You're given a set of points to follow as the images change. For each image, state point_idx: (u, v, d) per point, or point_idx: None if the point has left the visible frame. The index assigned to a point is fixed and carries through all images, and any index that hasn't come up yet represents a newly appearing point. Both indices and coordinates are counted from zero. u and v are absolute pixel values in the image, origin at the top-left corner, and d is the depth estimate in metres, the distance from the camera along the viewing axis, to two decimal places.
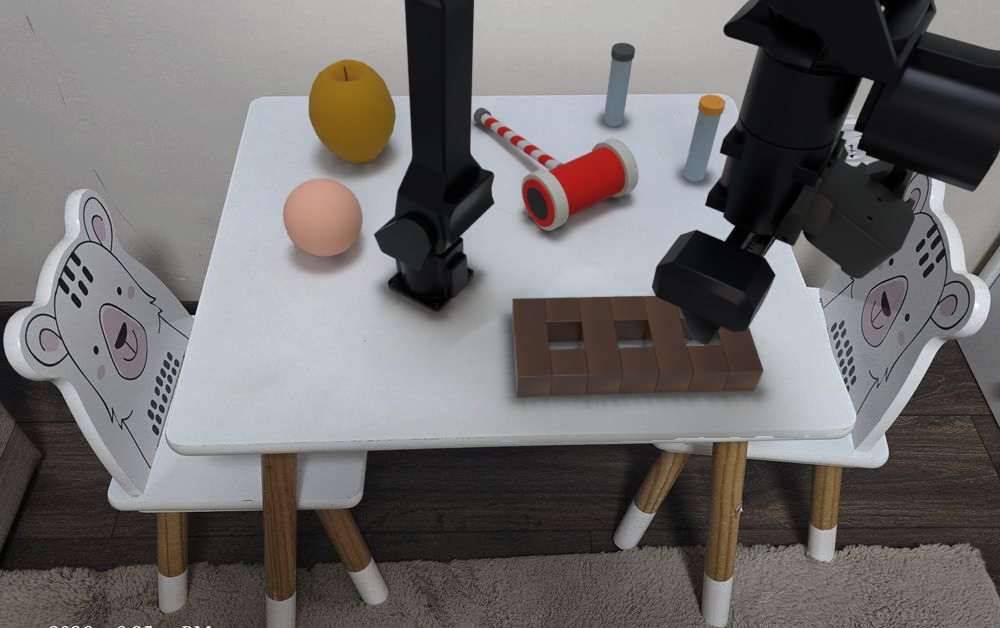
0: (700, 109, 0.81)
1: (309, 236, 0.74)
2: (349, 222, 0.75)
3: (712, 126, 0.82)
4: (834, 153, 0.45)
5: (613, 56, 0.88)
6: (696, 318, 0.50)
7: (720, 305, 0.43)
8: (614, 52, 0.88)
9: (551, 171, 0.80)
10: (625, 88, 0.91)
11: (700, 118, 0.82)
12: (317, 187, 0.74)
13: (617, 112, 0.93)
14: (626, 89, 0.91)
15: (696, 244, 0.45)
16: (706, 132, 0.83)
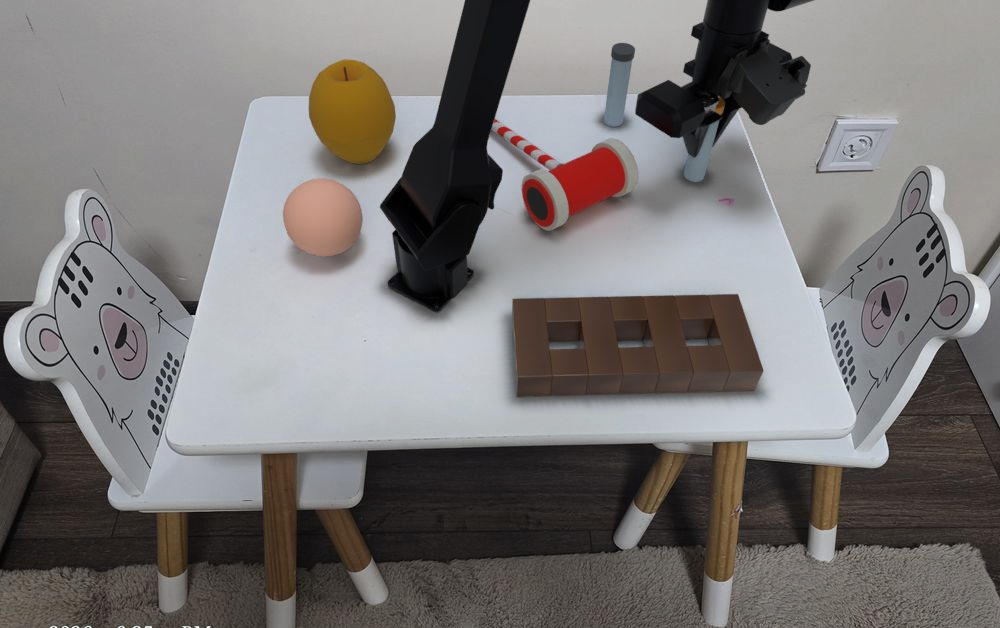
0: None
1: (309, 236, 0.74)
2: (349, 222, 0.75)
3: (712, 126, 0.82)
4: (758, 45, 0.74)
5: (613, 56, 0.88)
6: None
7: (664, 118, 0.75)
8: (614, 52, 0.88)
9: (551, 171, 0.80)
10: (625, 88, 0.91)
11: None
12: (317, 187, 0.74)
13: (617, 112, 0.93)
14: (626, 89, 0.91)
15: (664, 85, 0.76)
16: (707, 132, 0.83)
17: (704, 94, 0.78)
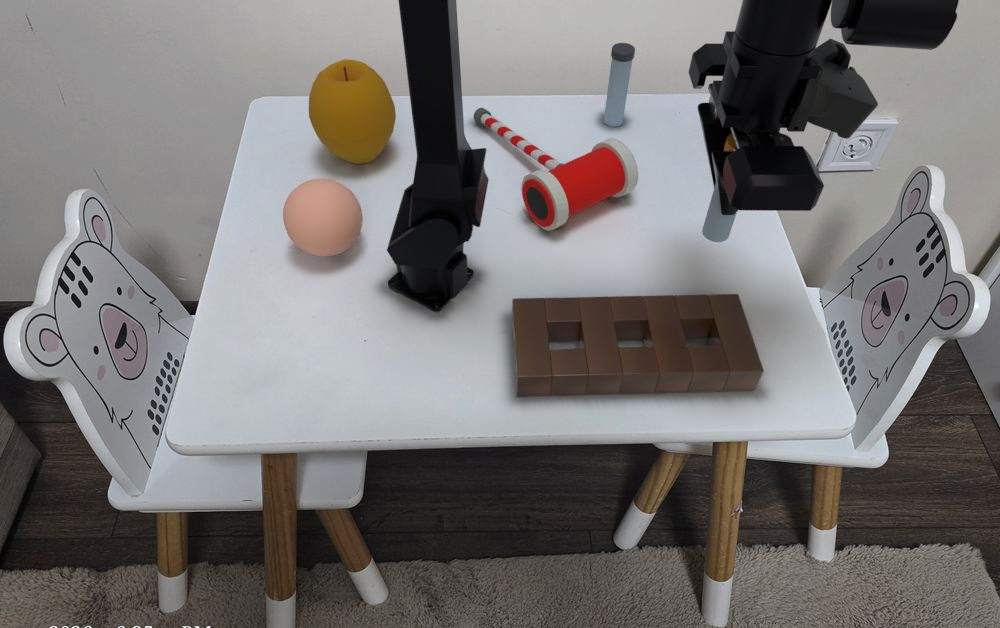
0: None
1: (309, 236, 0.74)
2: (349, 222, 0.75)
3: None
4: None
5: (613, 56, 0.88)
6: None
7: (799, 193, 0.53)
8: (614, 52, 0.88)
9: (551, 171, 0.80)
10: (625, 88, 0.91)
11: None
12: (317, 187, 0.74)
13: (617, 112, 0.93)
14: (626, 89, 0.91)
15: (753, 156, 0.53)
16: None
17: None
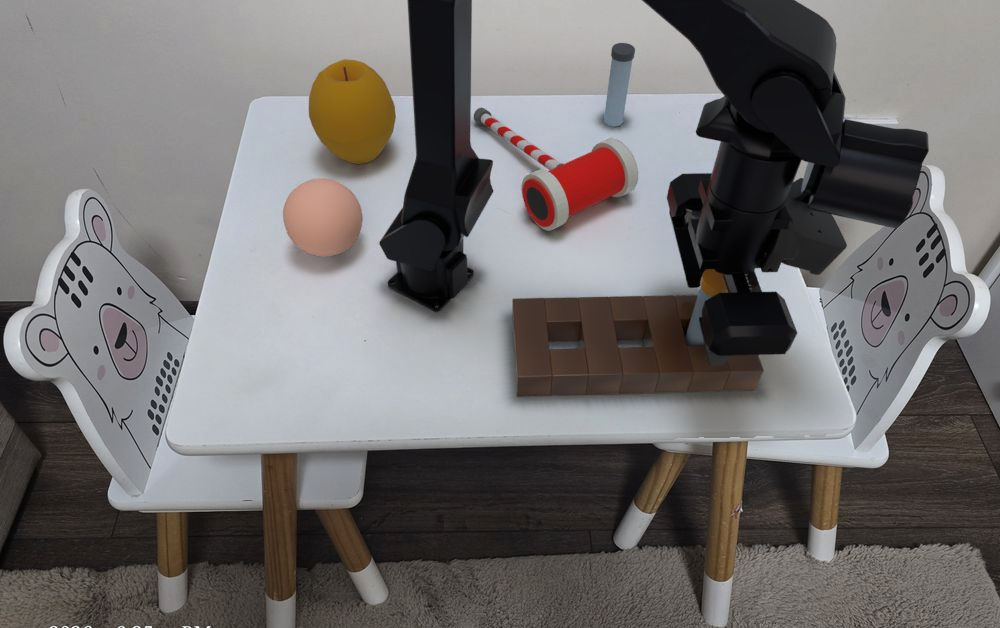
0: (715, 294, 0.63)
1: (309, 236, 0.74)
2: (349, 222, 0.75)
3: None
4: None
5: (613, 56, 0.88)
6: None
7: (774, 341, 0.55)
8: (614, 52, 0.88)
9: (551, 171, 0.80)
10: (625, 88, 0.91)
11: None
12: (317, 187, 0.74)
13: (617, 112, 0.93)
14: (626, 89, 0.91)
15: (730, 304, 0.56)
16: None
17: None
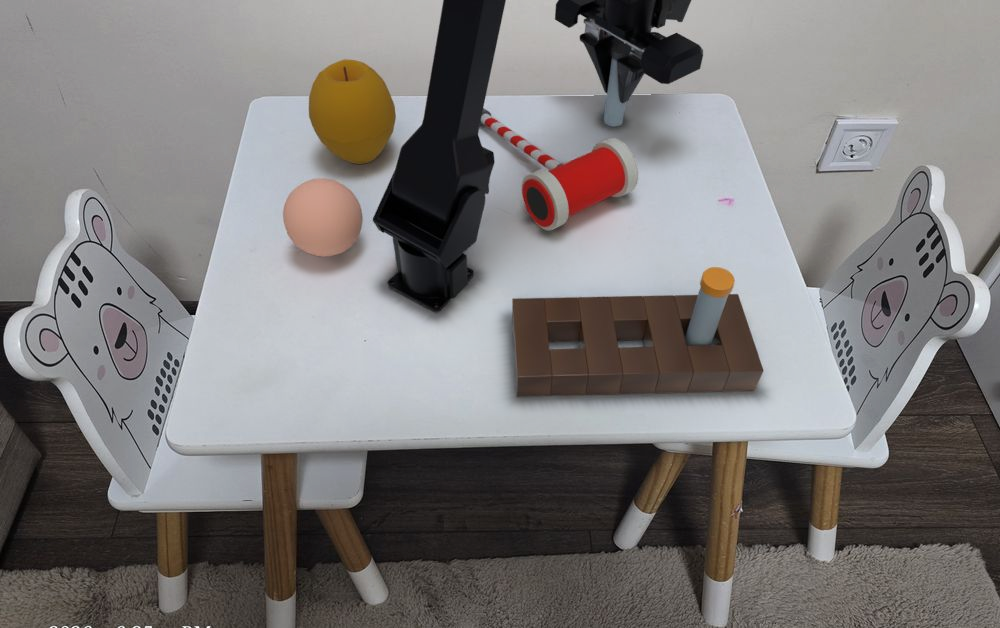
0: (715, 294, 0.63)
1: (309, 236, 0.74)
2: (349, 222, 0.75)
3: None
4: None
5: (613, 56, 0.88)
6: (630, 84, 0.89)
7: (695, 59, 0.82)
8: (614, 52, 0.88)
9: (551, 171, 0.80)
10: None
11: (714, 302, 0.64)
12: (317, 187, 0.74)
13: (617, 112, 0.93)
14: None
15: (660, 48, 0.81)
16: (722, 309, 0.65)
17: None
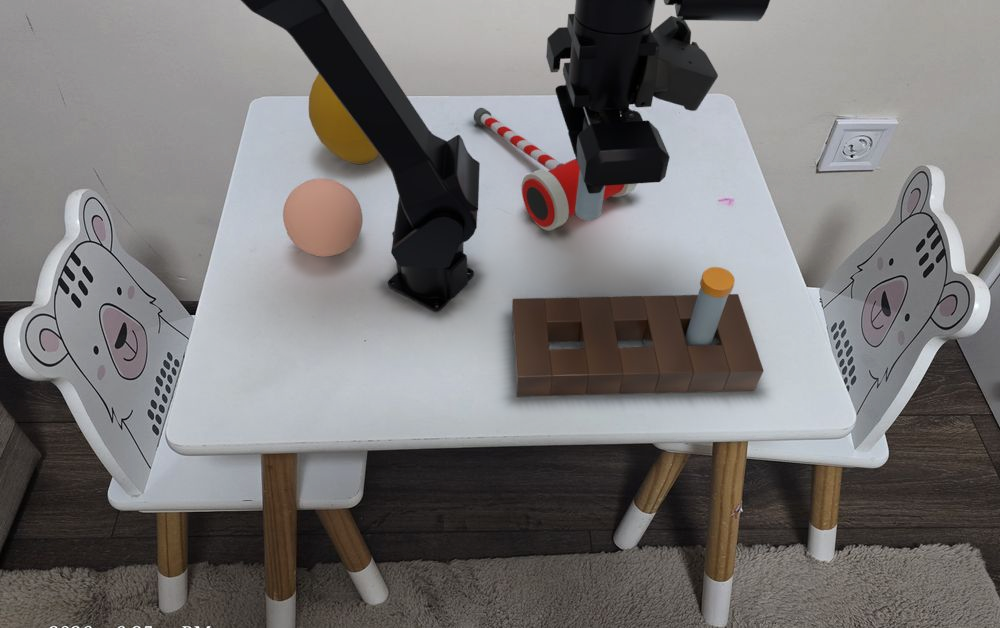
0: (715, 294, 0.63)
1: (309, 236, 0.74)
2: (349, 222, 0.75)
3: None
4: None
5: (583, 126, 0.63)
6: None
7: (646, 166, 0.55)
8: None
9: (551, 171, 0.80)
10: None
11: (714, 302, 0.64)
12: (317, 187, 0.74)
13: (585, 202, 0.68)
14: None
15: (601, 133, 0.55)
16: (722, 309, 0.65)
17: None
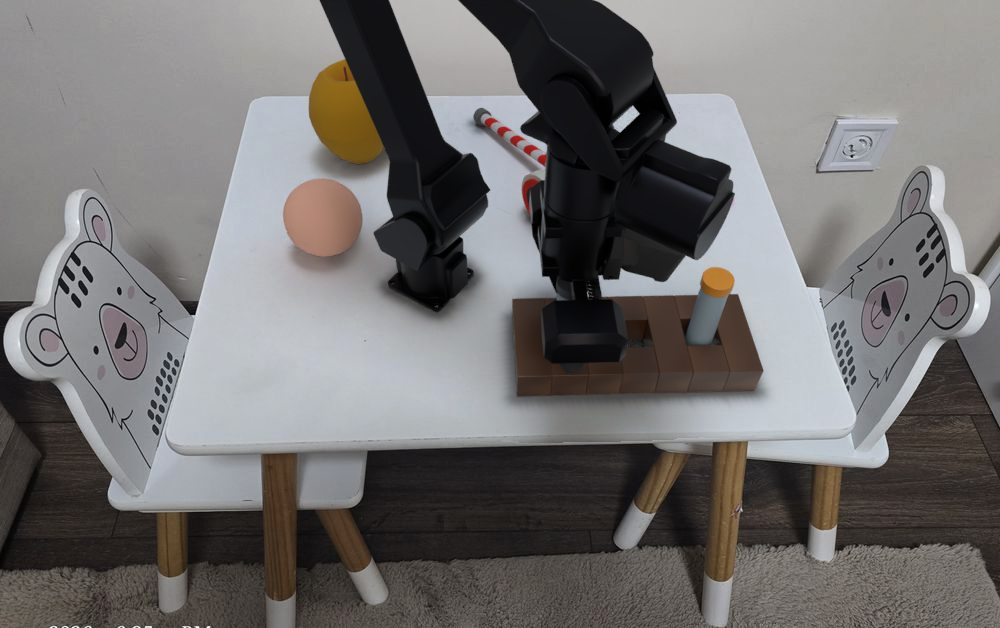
0: (715, 294, 0.63)
1: (309, 236, 0.74)
2: (349, 222, 0.75)
3: None
4: None
5: (556, 284, 0.64)
6: None
7: (604, 349, 0.55)
8: None
9: None
10: None
11: (714, 302, 0.64)
12: (317, 187, 0.74)
13: None
14: None
15: (562, 312, 0.56)
16: (722, 309, 0.65)
17: None
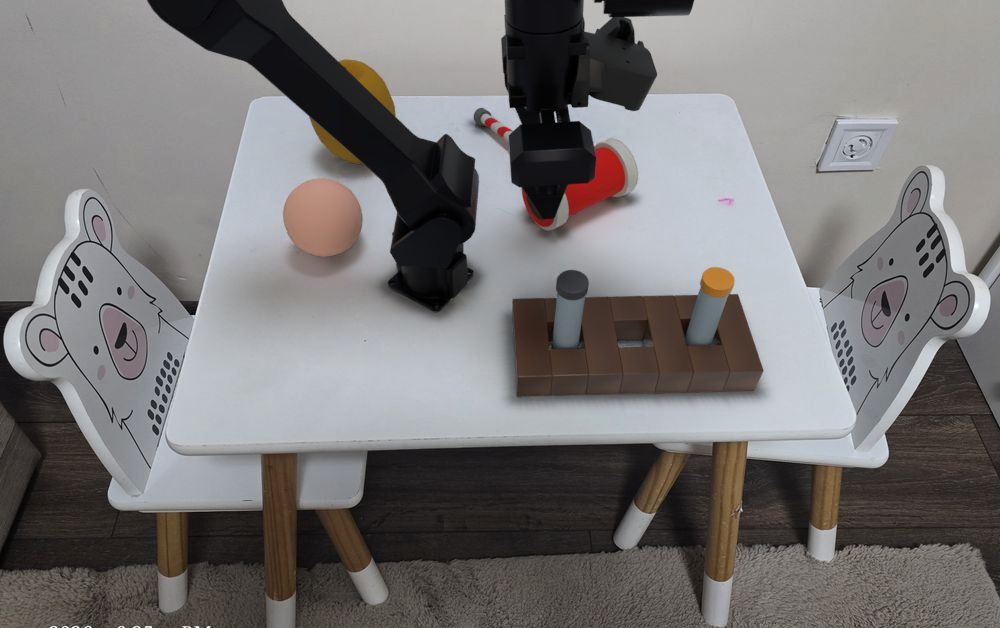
0: (715, 294, 0.63)
1: (309, 236, 0.74)
2: (349, 222, 0.75)
3: None
4: None
5: (556, 284, 0.64)
6: (542, 198, 0.61)
7: (572, 167, 0.54)
8: None
9: None
10: (569, 327, 0.66)
11: (714, 302, 0.64)
12: (317, 187, 0.74)
13: None
14: (572, 329, 0.66)
15: (528, 133, 0.55)
16: (722, 309, 0.65)
17: None
